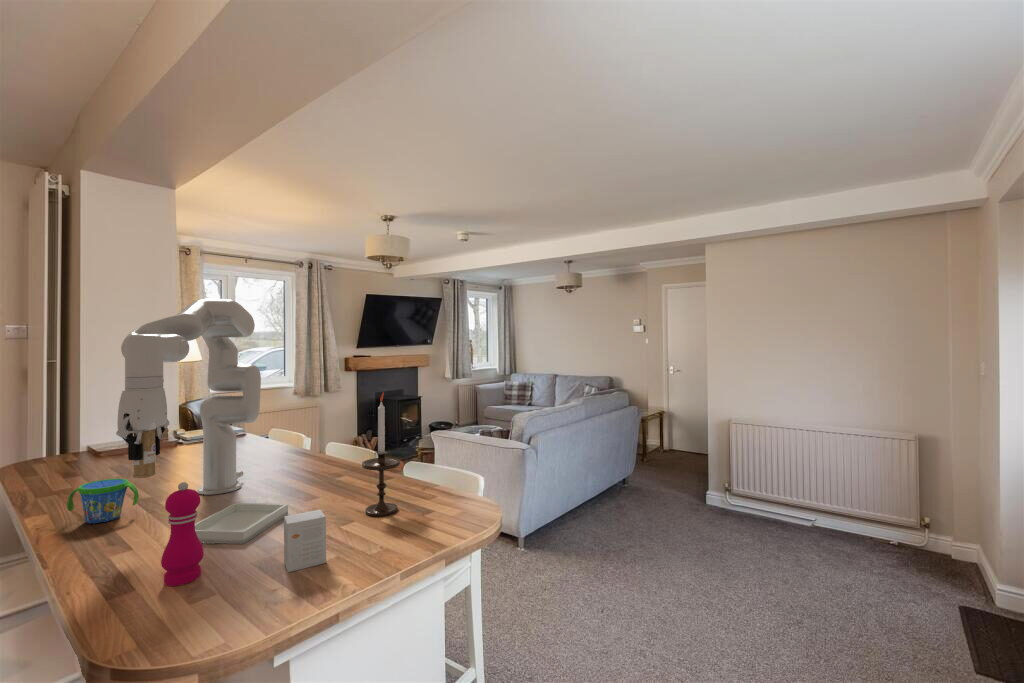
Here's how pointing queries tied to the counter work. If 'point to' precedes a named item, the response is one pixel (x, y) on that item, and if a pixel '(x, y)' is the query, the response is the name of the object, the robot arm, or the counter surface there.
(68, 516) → the counter surface
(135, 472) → the sprinkles bottle
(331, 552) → the counter surface
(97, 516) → the snack cup
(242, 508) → the tray
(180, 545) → the pepper mill
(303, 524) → the small box
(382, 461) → the candlestick
